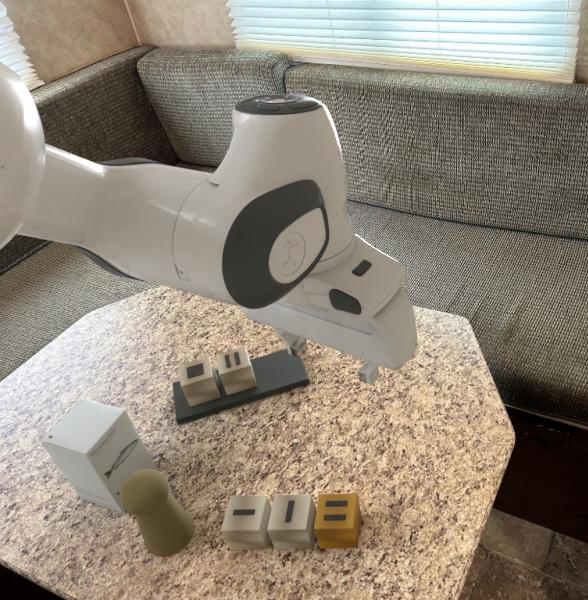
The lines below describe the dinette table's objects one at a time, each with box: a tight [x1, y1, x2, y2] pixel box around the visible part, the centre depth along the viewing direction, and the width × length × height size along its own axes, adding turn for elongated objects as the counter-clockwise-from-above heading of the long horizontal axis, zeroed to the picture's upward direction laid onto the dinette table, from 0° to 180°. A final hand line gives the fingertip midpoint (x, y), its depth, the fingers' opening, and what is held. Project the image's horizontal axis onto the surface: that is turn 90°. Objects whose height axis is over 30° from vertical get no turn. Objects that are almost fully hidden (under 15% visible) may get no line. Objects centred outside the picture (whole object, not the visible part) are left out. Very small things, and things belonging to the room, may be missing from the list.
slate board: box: [172, 348, 311, 426], centre depth 94 cm, size 20×8×1 cm, turn 110°
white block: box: [267, 493, 317, 550], centre depth 73 cm, size 5×5×5 cm
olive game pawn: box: [120, 469, 196, 558], centre depth 72 cm, size 6×6×11 cm
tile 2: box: [215, 345, 257, 395], centre depth 92 cm, size 5×5×5 cm
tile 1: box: [178, 356, 221, 407], centre depth 91 cm, size 5×5×5 cm
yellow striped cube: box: [314, 492, 362, 550], centre depth 73 cm, size 5×5×5 cm
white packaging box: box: [40, 397, 158, 514], centre depth 78 cm, size 7×7×13 cm
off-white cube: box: [220, 494, 272, 551], centre depth 73 cm, size 5×5×5 cm
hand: (333, 365), depth 66 cm, fingers open, 8 cm apart
